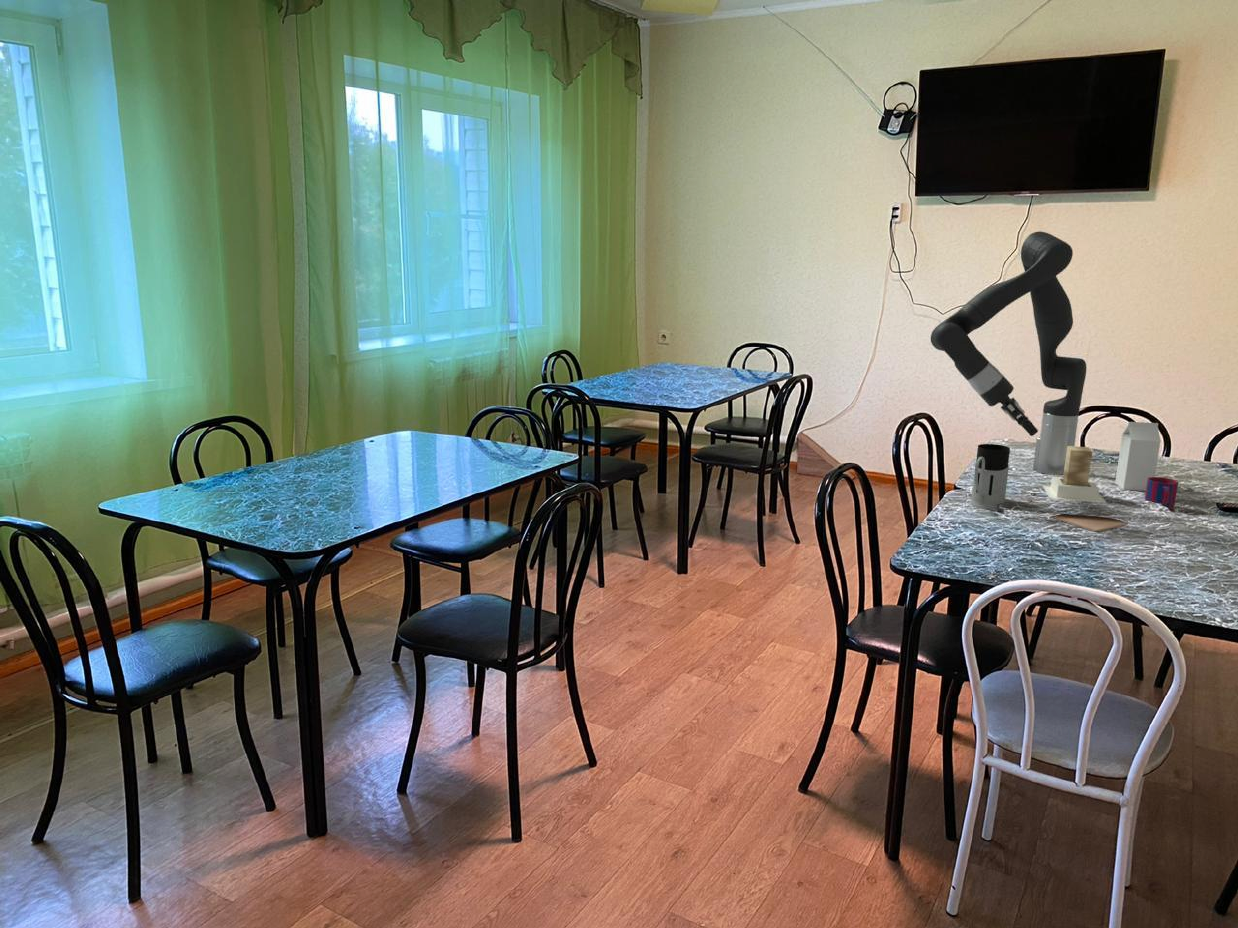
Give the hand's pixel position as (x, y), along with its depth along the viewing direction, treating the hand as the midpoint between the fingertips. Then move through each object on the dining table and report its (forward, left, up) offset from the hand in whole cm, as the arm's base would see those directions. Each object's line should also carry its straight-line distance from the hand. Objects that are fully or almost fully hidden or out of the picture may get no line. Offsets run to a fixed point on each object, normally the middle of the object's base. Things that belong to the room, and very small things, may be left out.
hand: (1032, 430), depth 239 cm
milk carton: (+11, +29, -18) cm, 36 cm away
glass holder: (+2, -18, -18) cm, 26 cm away
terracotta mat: (+22, -6, -17) cm, 29 cm away
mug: (+23, +21, -18) cm, 36 cm away
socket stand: (+8, +8, -17) cm, 21 cm away
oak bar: (+8, +8, -16) cm, 20 cm away
